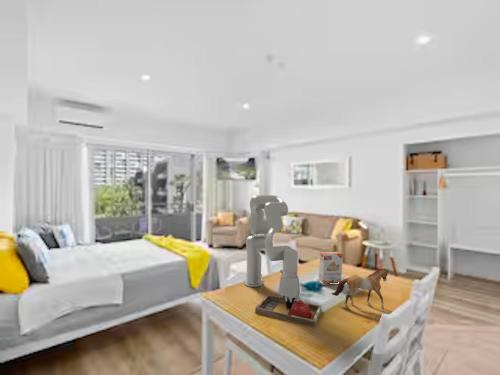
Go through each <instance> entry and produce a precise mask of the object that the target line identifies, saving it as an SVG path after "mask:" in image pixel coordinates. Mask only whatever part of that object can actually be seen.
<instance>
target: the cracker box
mask: <svg viewBox="0 0 500 375" xmlns="http://www.w3.org/2000/svg"><path fill="white" fill-rule="evenodd" d="M318 268H319V269H318V270H319V271H318V282H319V281H321V282H323V283H324V284H330V283H338V282H340V281H342V270H343V253H342V252H339V251H323V252H319V267H318Z"/></svg>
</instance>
